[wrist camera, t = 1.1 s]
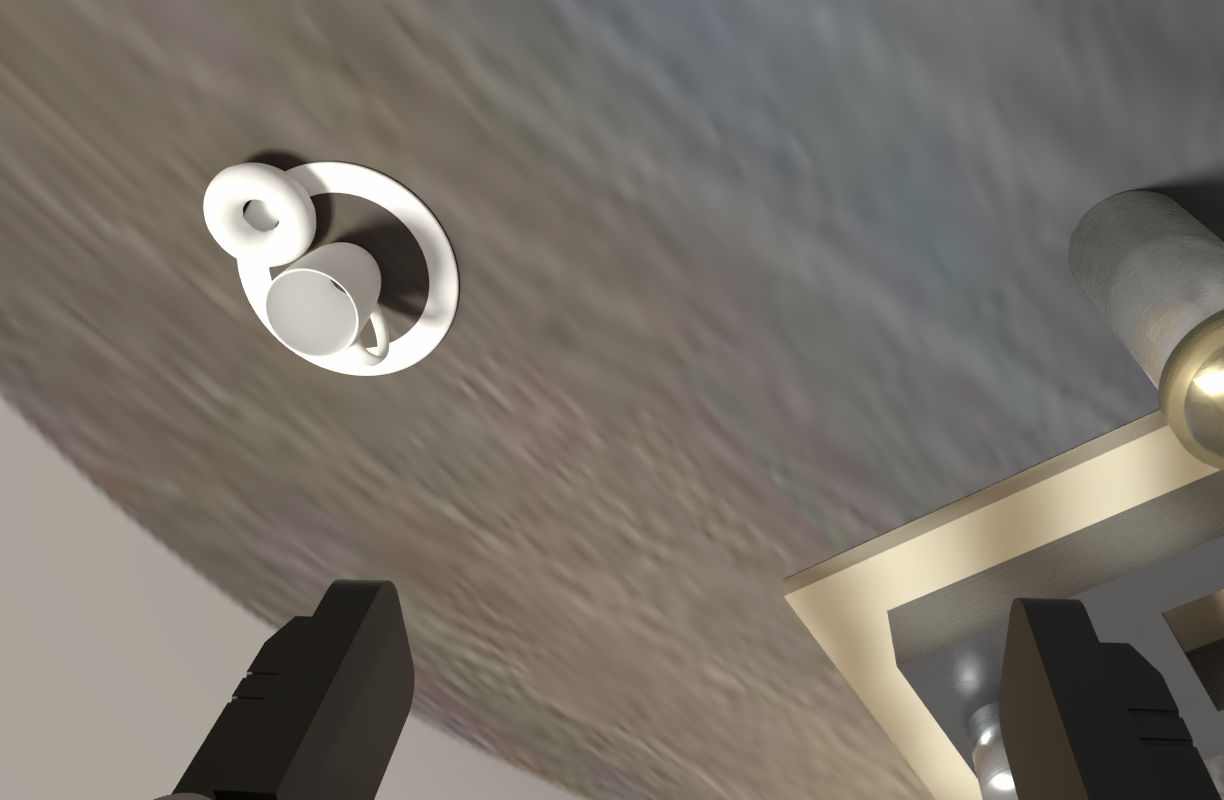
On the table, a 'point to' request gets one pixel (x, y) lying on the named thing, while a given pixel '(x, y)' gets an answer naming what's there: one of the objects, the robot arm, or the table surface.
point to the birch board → (969, 543)
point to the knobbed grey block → (1115, 602)
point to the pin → (1162, 305)
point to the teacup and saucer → (326, 263)
